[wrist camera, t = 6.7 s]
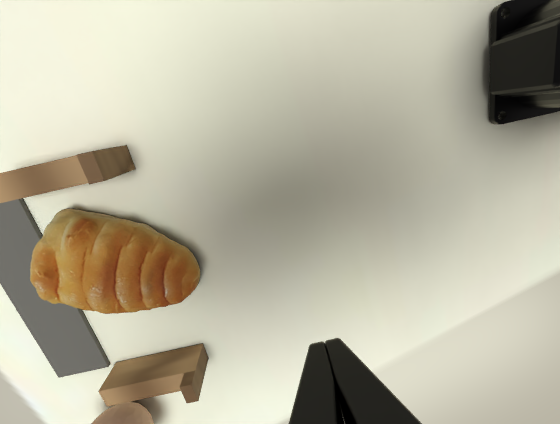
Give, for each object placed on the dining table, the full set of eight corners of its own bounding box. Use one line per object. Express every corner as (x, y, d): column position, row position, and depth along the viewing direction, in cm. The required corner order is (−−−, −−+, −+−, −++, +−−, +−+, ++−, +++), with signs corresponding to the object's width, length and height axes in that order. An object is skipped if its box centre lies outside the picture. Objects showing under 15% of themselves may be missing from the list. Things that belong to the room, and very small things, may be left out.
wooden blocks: (126, 145, 17) (92, 151, 14) (208, 358, 22) (198, 400, 19) (16, 170, 17) (-46, 182, 14) (123, 376, 23) (98, 422, 19)
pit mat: (20, 195, 18) (16, 196, 17) (110, 363, 22) (108, 366, 22) (-40, 209, 18) (-45, 210, 18) (61, 374, 22) (58, 377, 22)
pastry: (209, 225, 19) (196, 250, 16) (197, 307, 21) (184, 346, 18) (63, 200, 18) (13, 221, 15) (66, 289, 20) (23, 326, 17)
